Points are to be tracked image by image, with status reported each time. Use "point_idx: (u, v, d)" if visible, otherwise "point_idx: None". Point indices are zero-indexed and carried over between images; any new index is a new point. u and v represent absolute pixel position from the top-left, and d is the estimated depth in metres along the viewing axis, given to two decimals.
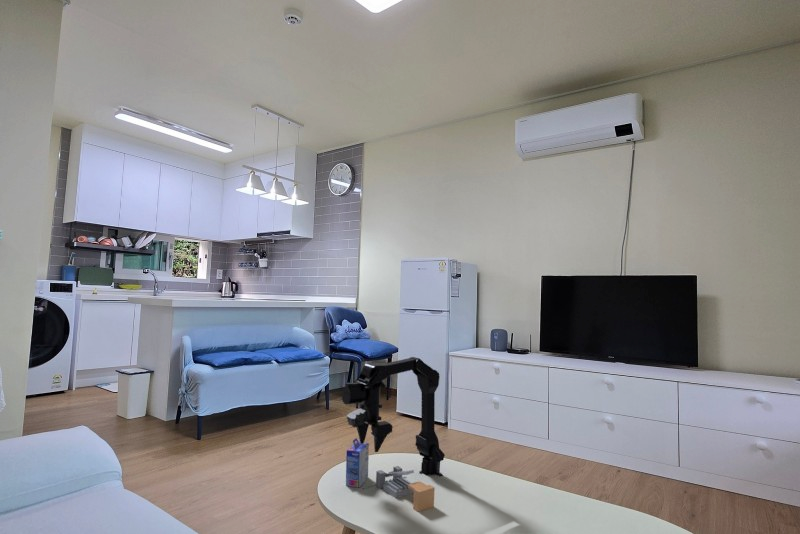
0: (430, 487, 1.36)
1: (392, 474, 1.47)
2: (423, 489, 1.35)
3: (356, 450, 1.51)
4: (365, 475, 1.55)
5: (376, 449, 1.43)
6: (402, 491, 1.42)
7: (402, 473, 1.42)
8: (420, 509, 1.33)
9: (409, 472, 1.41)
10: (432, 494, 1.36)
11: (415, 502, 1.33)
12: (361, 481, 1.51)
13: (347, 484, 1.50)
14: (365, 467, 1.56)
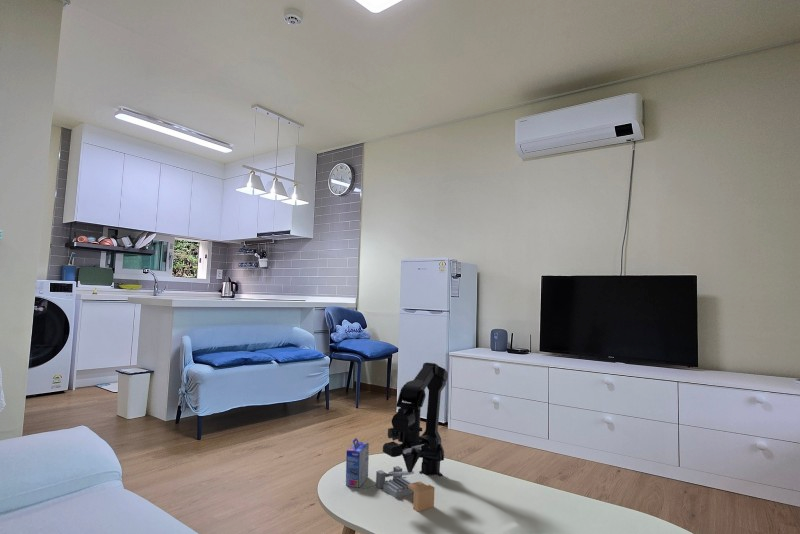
0: (430, 487, 1.36)
1: (392, 474, 1.47)
2: (423, 489, 1.35)
3: (356, 450, 1.51)
4: (365, 475, 1.55)
5: (407, 468, 1.42)
6: (402, 491, 1.42)
7: (402, 473, 1.42)
8: (420, 509, 1.33)
9: (409, 473, 1.41)
10: (432, 494, 1.36)
11: (415, 502, 1.33)
12: (361, 481, 1.51)
13: (347, 484, 1.50)
14: (365, 467, 1.56)
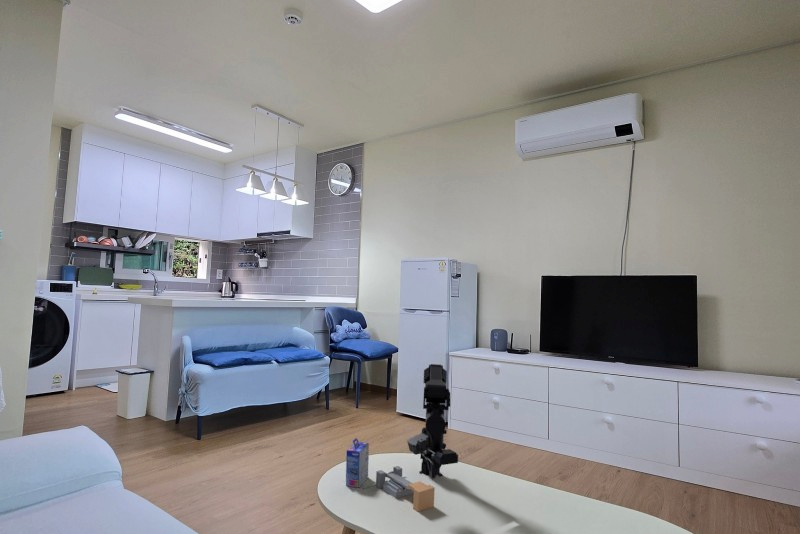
0: (430, 487, 1.36)
1: (392, 478, 1.46)
2: (423, 489, 1.35)
3: (356, 450, 1.51)
4: (365, 475, 1.55)
5: (432, 475, 1.31)
6: (402, 491, 1.42)
7: (403, 485, 1.42)
8: (420, 509, 1.33)
9: None
10: (432, 494, 1.36)
11: (415, 502, 1.33)
12: (361, 481, 1.51)
13: (347, 484, 1.50)
14: (365, 467, 1.56)
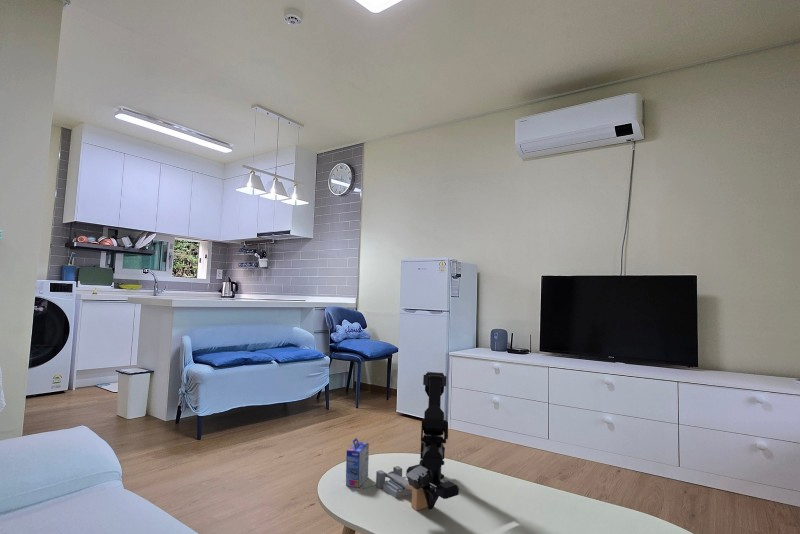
0: None
1: (392, 478, 1.46)
2: (421, 488, 1.35)
3: (356, 450, 1.51)
4: (365, 475, 1.55)
5: (431, 506, 1.32)
6: (402, 491, 1.42)
7: (403, 485, 1.42)
8: (418, 508, 1.34)
9: None
10: None
11: (414, 501, 1.34)
12: (361, 481, 1.51)
13: (347, 484, 1.50)
14: (365, 467, 1.56)
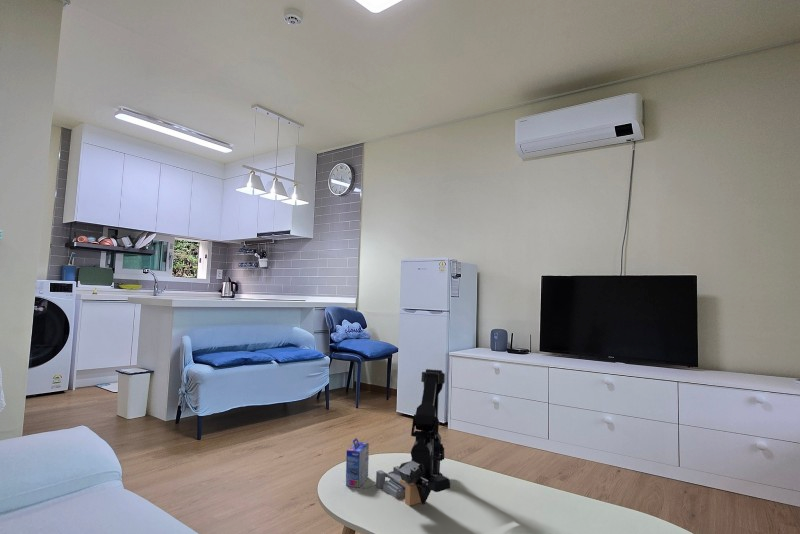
0: None
1: (392, 478, 1.46)
2: None
3: (356, 450, 1.51)
4: (365, 475, 1.55)
5: (423, 501, 1.35)
6: (402, 491, 1.42)
7: (403, 485, 1.42)
8: (411, 503, 1.36)
9: None
10: None
11: (407, 496, 1.37)
12: (361, 481, 1.51)
13: (347, 484, 1.50)
14: (365, 467, 1.56)
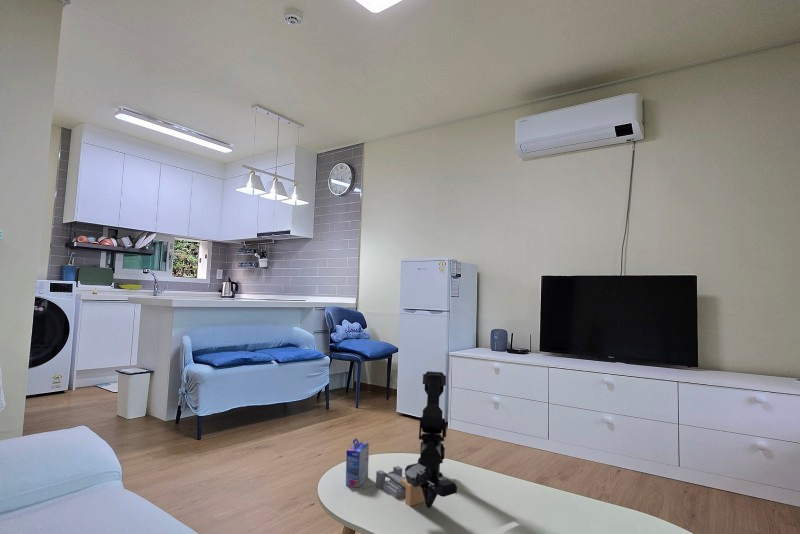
0: None
1: (392, 478, 1.46)
2: None
3: (356, 450, 1.51)
4: (365, 475, 1.55)
5: (429, 505, 1.32)
6: (402, 491, 1.42)
7: (403, 485, 1.42)
8: (412, 504, 1.36)
9: None
10: None
11: (407, 497, 1.37)
12: (361, 481, 1.51)
13: (347, 484, 1.50)
14: (365, 467, 1.56)
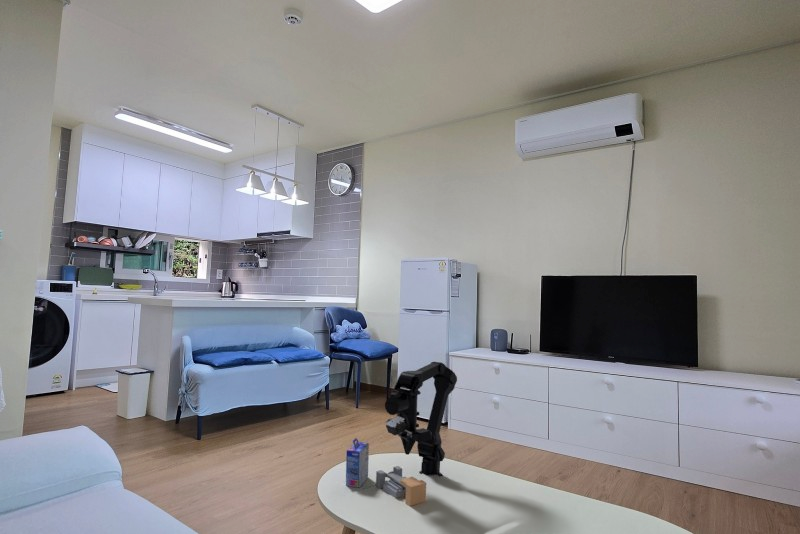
0: (422, 482, 1.40)
1: (392, 478, 1.46)
2: (415, 484, 1.38)
3: (356, 450, 1.51)
4: (365, 475, 1.55)
5: (407, 452, 1.50)
6: (402, 491, 1.42)
7: (403, 485, 1.42)
8: (412, 504, 1.36)
9: None
10: (424, 489, 1.39)
11: (407, 497, 1.37)
12: (361, 481, 1.51)
13: (347, 484, 1.50)
14: (365, 467, 1.56)
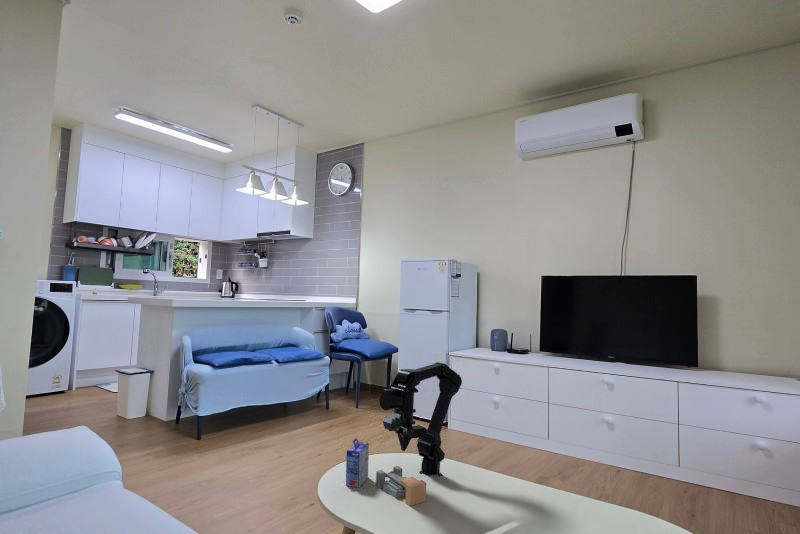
0: (422, 482, 1.40)
1: (392, 478, 1.46)
2: (415, 484, 1.38)
3: (356, 450, 1.51)
4: (365, 475, 1.55)
5: (403, 448, 1.53)
6: (402, 491, 1.42)
7: (403, 485, 1.42)
8: (412, 504, 1.36)
9: None
10: (424, 489, 1.39)
11: (407, 497, 1.37)
12: (361, 481, 1.51)
13: (347, 484, 1.50)
14: (365, 467, 1.56)
